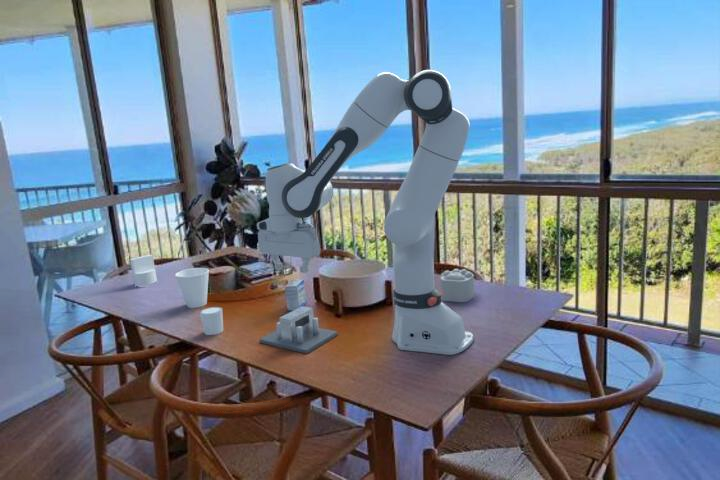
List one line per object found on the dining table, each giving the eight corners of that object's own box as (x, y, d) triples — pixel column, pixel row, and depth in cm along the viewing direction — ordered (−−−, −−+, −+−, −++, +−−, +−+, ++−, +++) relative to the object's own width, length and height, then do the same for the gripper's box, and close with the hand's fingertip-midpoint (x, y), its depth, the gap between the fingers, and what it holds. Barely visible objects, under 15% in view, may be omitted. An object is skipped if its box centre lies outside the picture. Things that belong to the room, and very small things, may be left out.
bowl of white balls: (438, 300, 175) (437, 275, 173) (448, 288, 186) (447, 265, 184) (469, 302, 170) (468, 277, 168) (477, 290, 182) (477, 266, 180)
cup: (208, 297, 198) (203, 265, 195) (218, 304, 188) (213, 271, 186) (176, 304, 192) (171, 272, 189) (185, 313, 182) (179, 279, 179)
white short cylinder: (206, 327, 166) (203, 307, 165) (227, 326, 166) (224, 305, 165) (199, 336, 160) (196, 315, 158) (221, 335, 159) (218, 313, 158)
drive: (315, 330, 155) (312, 308, 153) (292, 343, 147) (290, 319, 145) (304, 328, 157) (302, 306, 155) (281, 340, 149) (279, 317, 148)
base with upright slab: (152, 279, 229) (147, 253, 226) (160, 283, 222) (156, 256, 220) (131, 285, 223) (126, 258, 220) (139, 288, 216) (134, 261, 214)
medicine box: (299, 310, 175) (297, 286, 173) (287, 310, 176) (284, 286, 174) (306, 302, 183) (304, 279, 181) (294, 302, 184) (292, 279, 182)
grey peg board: (337, 334, 153) (336, 317, 151) (307, 353, 141) (305, 334, 140) (291, 325, 163) (289, 308, 162) (259, 342, 152) (257, 324, 150)
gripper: (322, 221, 141) (327, 270, 144) (267, 219, 153) (273, 264, 156) (307, 226, 136) (312, 277, 139) (252, 223, 148) (258, 270, 151)
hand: (291, 270), depth 148 cm, fingers open, 8 cm apart
